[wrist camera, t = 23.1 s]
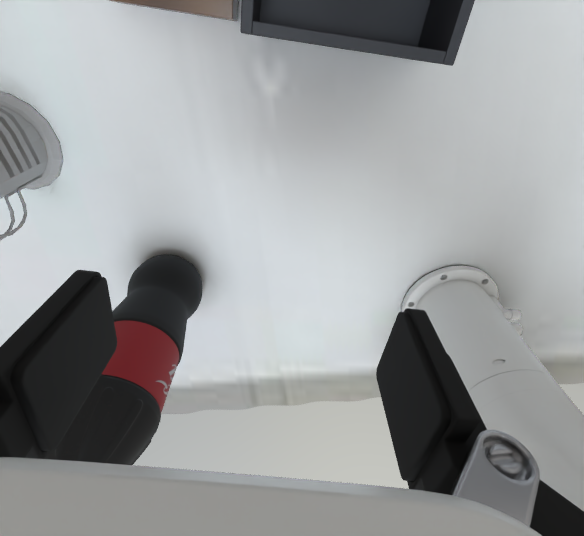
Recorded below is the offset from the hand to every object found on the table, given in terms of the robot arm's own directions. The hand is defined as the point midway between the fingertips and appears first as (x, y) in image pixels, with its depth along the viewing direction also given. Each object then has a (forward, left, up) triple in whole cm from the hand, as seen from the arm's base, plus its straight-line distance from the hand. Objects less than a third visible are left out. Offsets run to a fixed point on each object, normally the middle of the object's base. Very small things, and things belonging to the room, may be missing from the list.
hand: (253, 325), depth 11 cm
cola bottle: (+11, +19, -29) cm, 37 cm away
